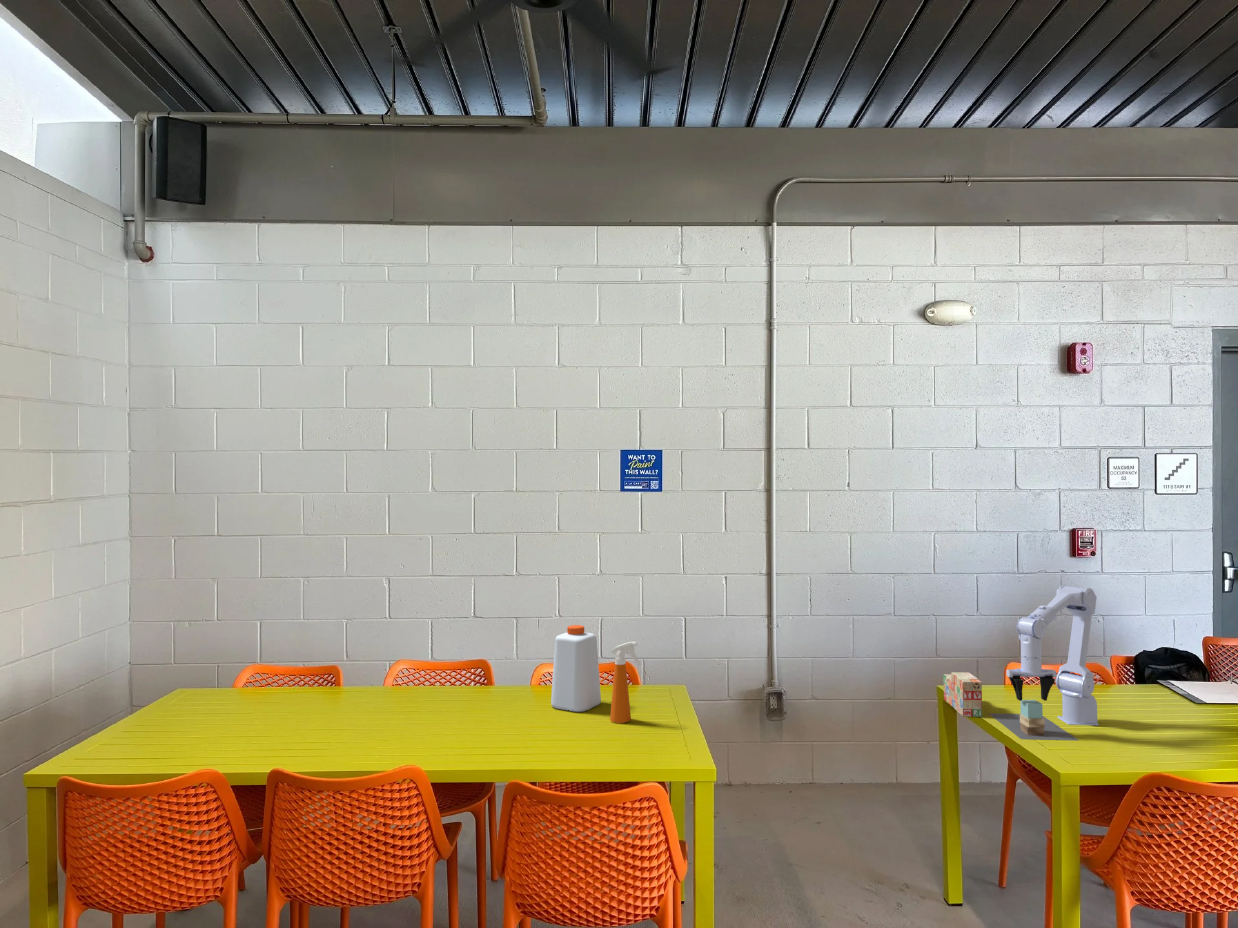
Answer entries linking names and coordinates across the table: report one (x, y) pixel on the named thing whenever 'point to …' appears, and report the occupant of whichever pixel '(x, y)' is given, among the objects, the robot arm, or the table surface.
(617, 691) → the spray bottle
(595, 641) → the plastic bottle
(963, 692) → the stack of blocks
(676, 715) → the table surface
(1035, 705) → the teal cube
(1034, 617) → the robot arm
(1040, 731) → the walnut slab
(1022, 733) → the rubber mat
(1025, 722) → the oak slab
